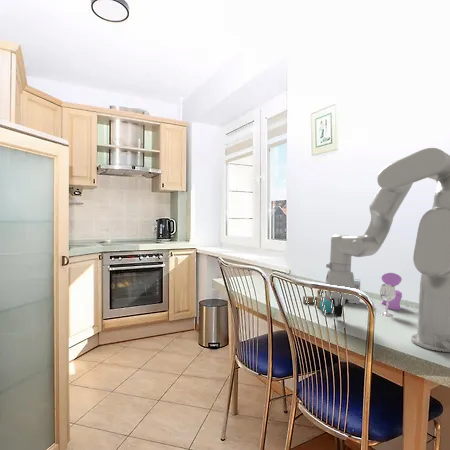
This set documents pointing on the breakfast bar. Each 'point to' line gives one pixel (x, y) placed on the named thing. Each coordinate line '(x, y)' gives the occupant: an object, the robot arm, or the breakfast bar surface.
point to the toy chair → (395, 280)
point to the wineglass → (387, 296)
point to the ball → (326, 306)
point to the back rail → (310, 300)
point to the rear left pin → (319, 298)
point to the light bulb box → (357, 286)
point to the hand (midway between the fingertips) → (337, 315)
